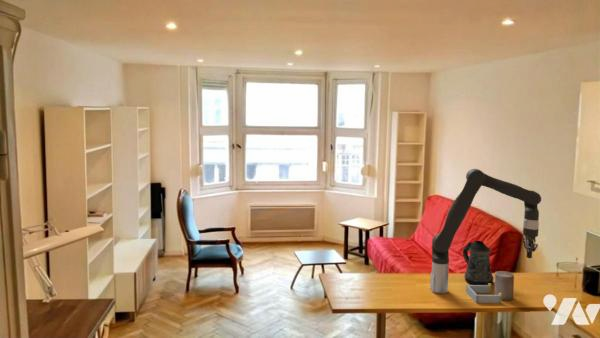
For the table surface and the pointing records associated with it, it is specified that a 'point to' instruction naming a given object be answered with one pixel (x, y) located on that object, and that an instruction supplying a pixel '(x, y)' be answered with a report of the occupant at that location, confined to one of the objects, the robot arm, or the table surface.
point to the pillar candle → (504, 284)
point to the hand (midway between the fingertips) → (529, 257)
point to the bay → (475, 289)
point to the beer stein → (478, 264)
